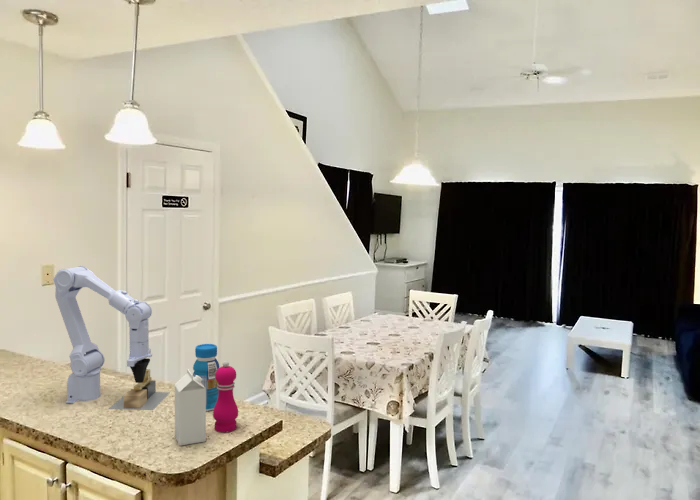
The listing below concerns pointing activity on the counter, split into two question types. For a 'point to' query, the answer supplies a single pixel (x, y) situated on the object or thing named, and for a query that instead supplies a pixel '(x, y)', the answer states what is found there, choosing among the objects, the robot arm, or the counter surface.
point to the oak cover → (135, 398)
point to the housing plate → (146, 406)
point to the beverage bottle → (207, 372)
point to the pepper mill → (225, 399)
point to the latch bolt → (145, 382)
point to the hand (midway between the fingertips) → (139, 382)
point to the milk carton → (190, 410)
